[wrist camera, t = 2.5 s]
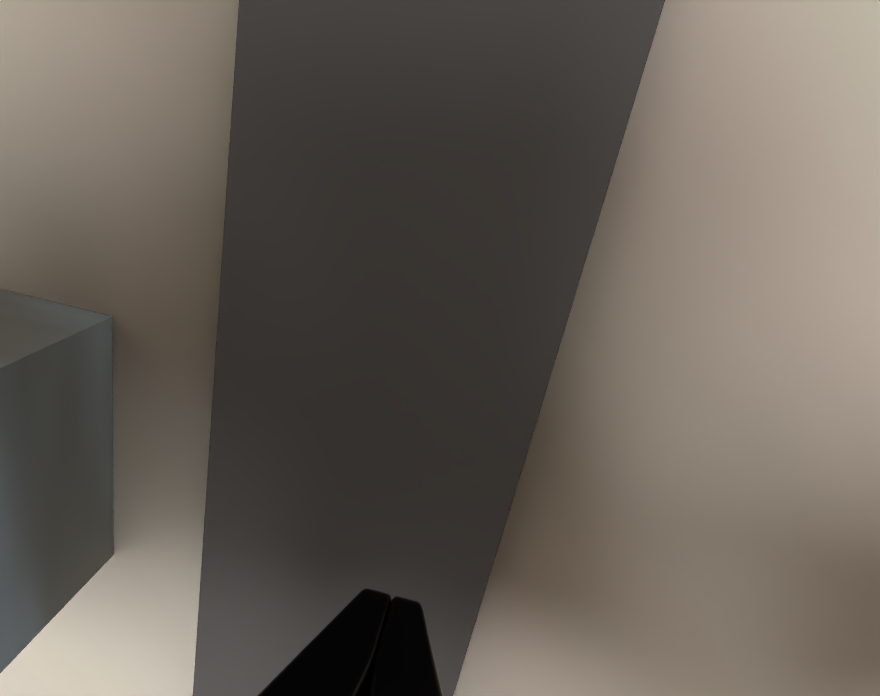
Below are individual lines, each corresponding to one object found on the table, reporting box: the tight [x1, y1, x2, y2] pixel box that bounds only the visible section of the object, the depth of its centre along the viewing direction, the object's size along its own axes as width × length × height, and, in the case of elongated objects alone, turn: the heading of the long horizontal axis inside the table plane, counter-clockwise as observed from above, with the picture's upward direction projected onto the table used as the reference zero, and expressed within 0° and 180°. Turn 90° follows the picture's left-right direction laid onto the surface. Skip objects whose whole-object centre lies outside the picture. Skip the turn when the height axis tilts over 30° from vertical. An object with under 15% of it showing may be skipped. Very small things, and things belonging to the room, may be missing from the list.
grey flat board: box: [193, 0, 665, 696], centre depth 10 cm, size 5×18×1 cm, turn 168°
